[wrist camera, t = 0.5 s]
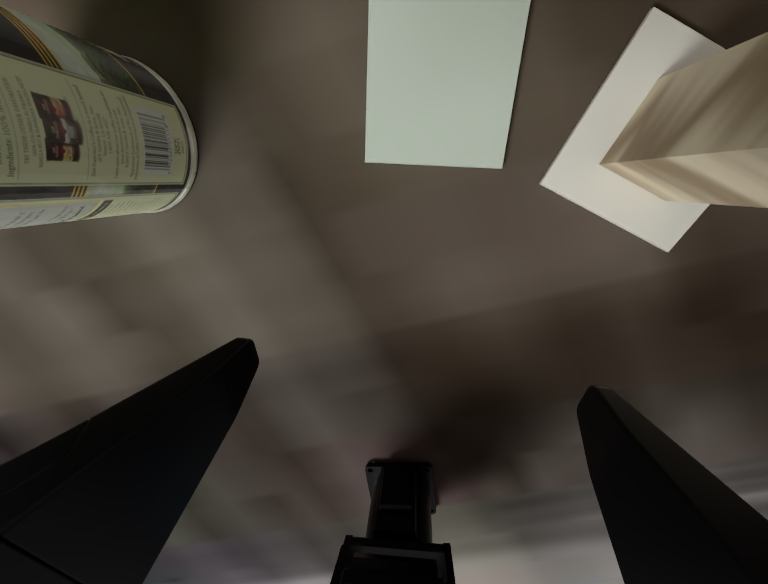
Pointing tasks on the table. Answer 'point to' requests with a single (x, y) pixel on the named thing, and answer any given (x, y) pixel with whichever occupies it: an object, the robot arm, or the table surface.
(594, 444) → the robot arm
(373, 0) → the coaster
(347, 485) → the table surface
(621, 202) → the white tile
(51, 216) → the coffee can
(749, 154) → the birch block
